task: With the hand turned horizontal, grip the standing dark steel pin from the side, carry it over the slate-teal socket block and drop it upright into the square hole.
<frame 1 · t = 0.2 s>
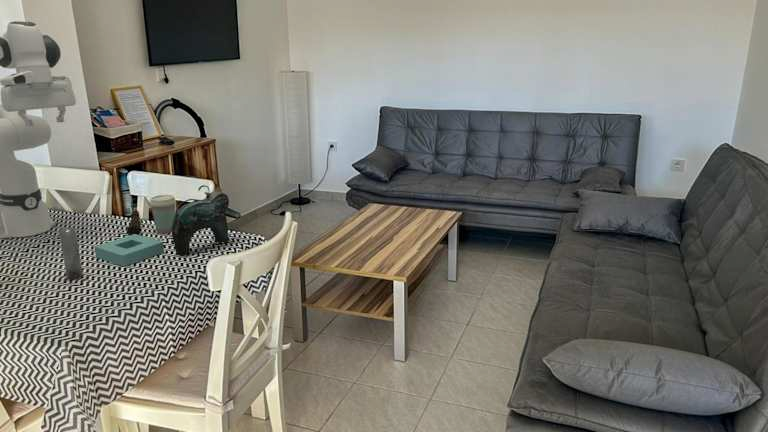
hand: (45, 124, 178), 39 cm above the table, tool pointing down, fingers open, 8 cm apart
steel pin: (75, 276, 163), on the table
socket block: (130, 254, 180), on the table
hand tool: (134, 229, 205), on the table
ceramic cat: (204, 248, 186), on the table
coffee cup: (166, 231, 202), on the table
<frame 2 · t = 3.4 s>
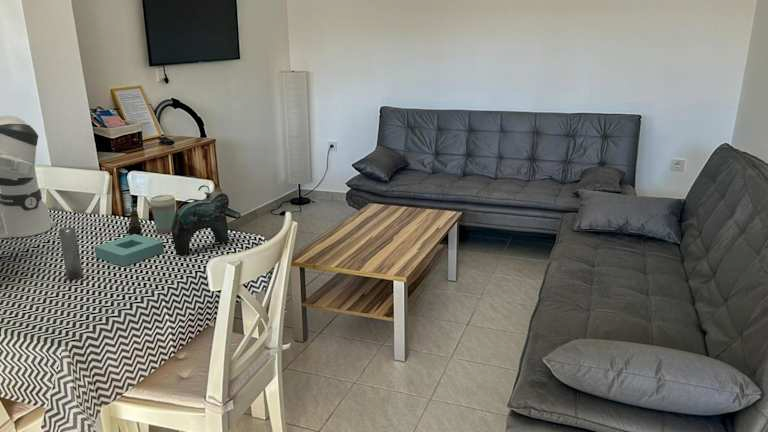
nothing on the table moved.
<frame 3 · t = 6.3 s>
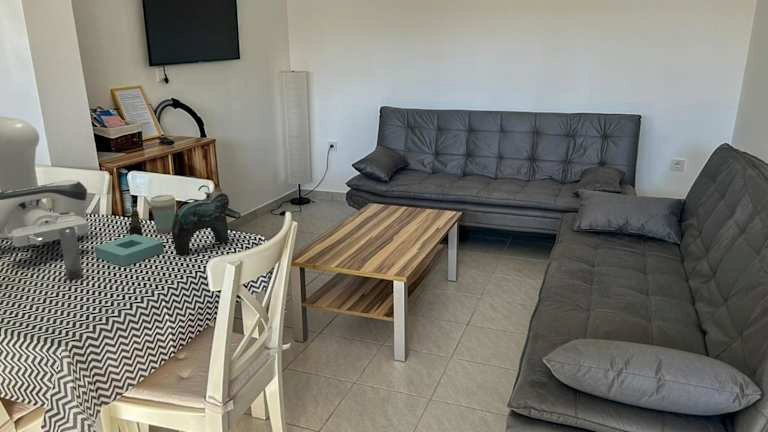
hand: (57, 238, 169), 8 cm above the table, tool horizontal, fingers open, 8 cm apart
nothing on the table moved.
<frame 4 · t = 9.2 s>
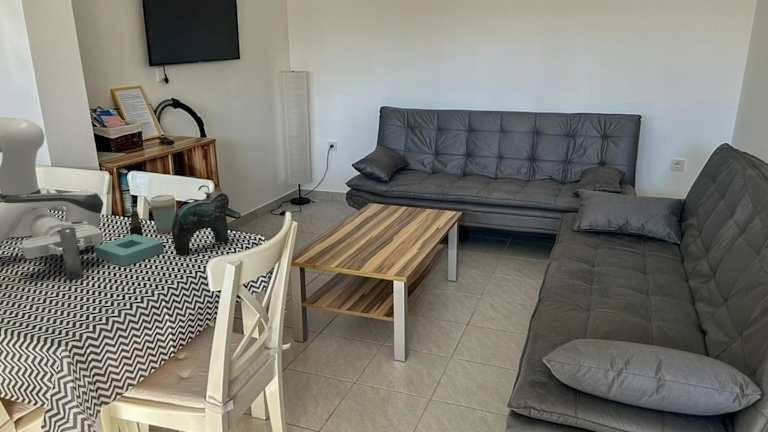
hand: (71, 249, 160), 8 cm above the table, tool horizontal, fingers closed on steel pin, 4 cm apart
steel pin: (75, 276, 163), on the table, touching gripper
everything else where it was.
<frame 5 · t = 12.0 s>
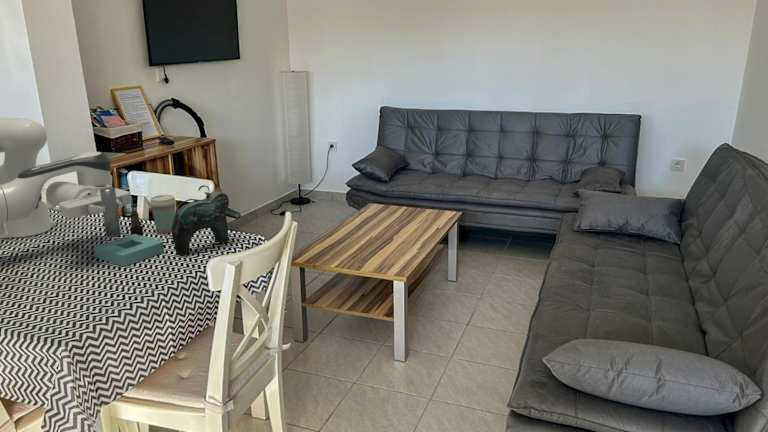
hand: (111, 207, 170), 17 cm above the table, tool horizontal, fingers closed on steel pin, 4 cm apart
steel pin: (113, 234, 173), point 8 cm above the table, touching gripper
everything else where it was.
when the fingers open (10 cm above the table, at t = 14.6 s): steel pin drops 1 cm, resting in socket block.
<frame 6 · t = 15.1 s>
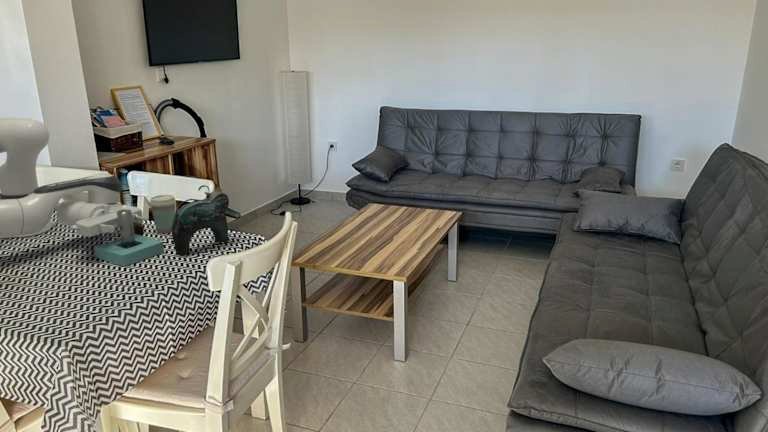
hand: (128, 224, 176), 10 cm above the table, tool horizontal, fingers open, 8 cm apart
steel pin: (130, 254, 180), resting in socket block
everything else where it was.
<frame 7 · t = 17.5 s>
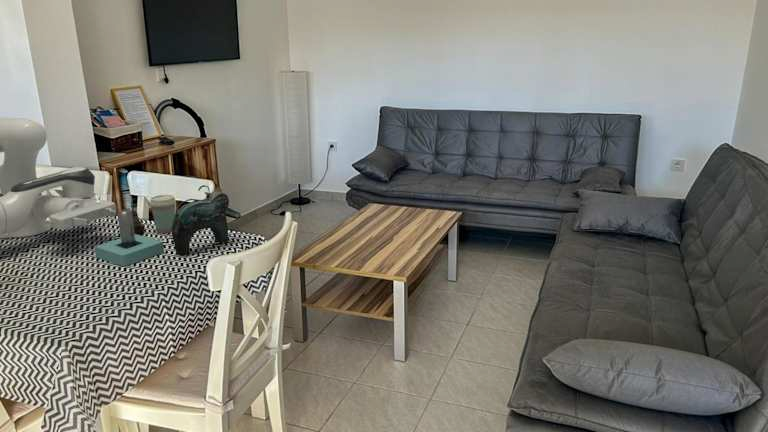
hand: (101, 218, 181), 10 cm above the table, tool horizontal, fingers open, 8 cm apart
nothing on the table moved.
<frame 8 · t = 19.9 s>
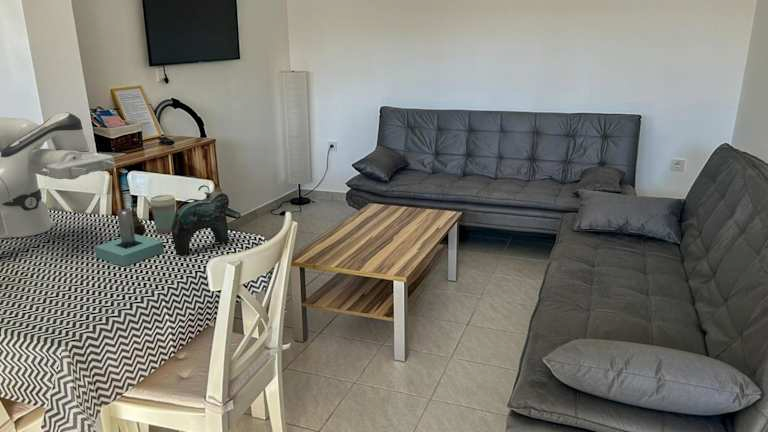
hand: (100, 168, 176), 26 cm above the table, tool horizontal, fingers open, 8 cm apart
nothing on the table moved.
at the end: steel pin 0.0 cm off-centre on the socket block, point 0.0 cm above the socket block's base; steel pin tilted 0°; the gripper is holding nothing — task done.
